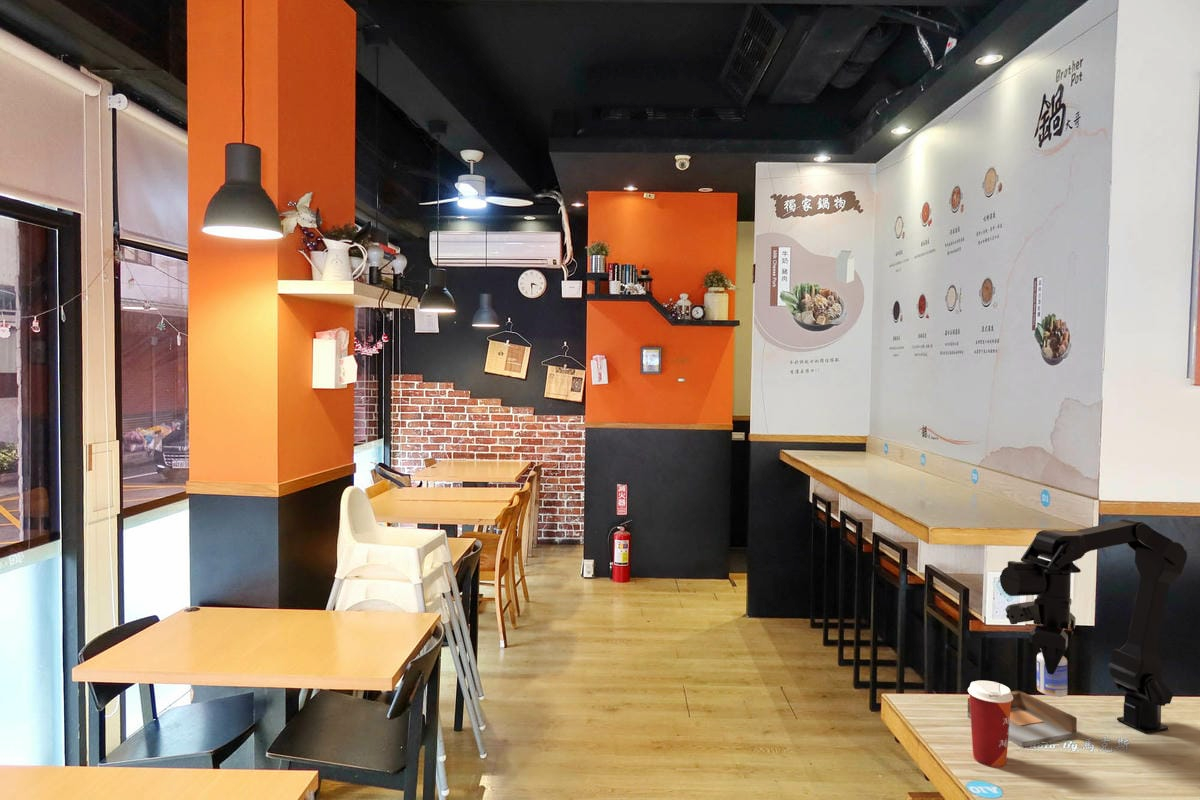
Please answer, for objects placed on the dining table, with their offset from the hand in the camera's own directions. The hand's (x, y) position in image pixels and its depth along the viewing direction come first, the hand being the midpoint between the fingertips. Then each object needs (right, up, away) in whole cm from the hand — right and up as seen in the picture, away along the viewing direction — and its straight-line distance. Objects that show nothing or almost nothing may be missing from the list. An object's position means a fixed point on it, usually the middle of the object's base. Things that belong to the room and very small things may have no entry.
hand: (1052, 669), depth 152 cm
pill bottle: (0, -5, 0) cm, 5 cm away
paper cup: (-18, -14, -10) cm, 25 cm away
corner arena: (-5, -13, +3) cm, 14 cm away
